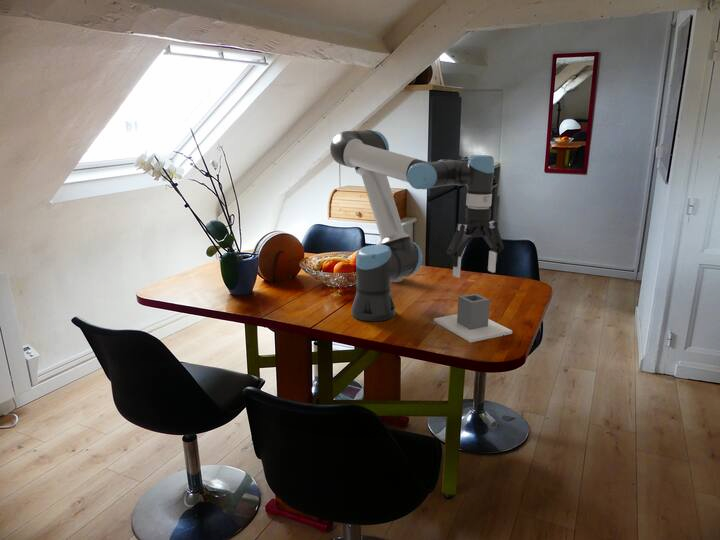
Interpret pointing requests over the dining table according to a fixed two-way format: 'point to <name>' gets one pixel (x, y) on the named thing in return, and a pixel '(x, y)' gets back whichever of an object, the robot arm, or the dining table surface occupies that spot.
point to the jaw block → (473, 311)
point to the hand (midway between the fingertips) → (474, 274)
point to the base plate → (474, 334)
